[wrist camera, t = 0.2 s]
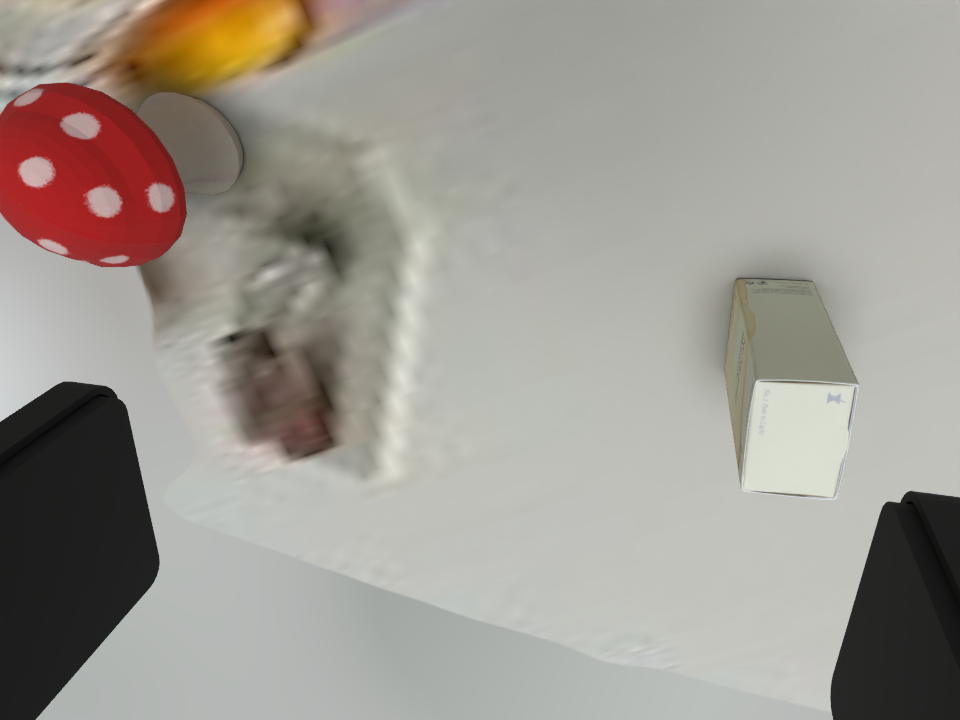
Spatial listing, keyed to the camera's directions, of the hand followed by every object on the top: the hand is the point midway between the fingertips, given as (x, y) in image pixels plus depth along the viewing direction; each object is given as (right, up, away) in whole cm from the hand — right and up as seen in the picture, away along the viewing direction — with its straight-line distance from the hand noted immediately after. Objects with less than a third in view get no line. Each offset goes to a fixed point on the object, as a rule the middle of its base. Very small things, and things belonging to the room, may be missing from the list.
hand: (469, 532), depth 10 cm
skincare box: (+17, +4, +36) cm, 40 cm away
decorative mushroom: (-17, +16, +39) cm, 45 cm away
